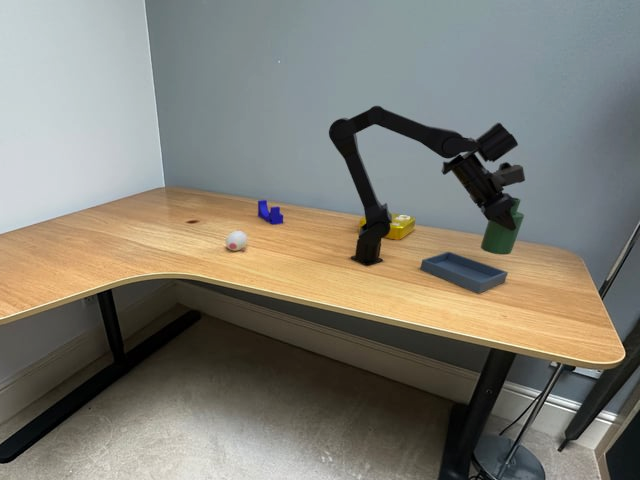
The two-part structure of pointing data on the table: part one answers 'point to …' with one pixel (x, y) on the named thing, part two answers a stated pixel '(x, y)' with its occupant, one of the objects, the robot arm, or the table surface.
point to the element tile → (397, 226)
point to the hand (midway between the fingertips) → (510, 225)
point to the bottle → (502, 234)
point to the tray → (464, 271)
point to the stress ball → (236, 240)
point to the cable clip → (271, 217)
